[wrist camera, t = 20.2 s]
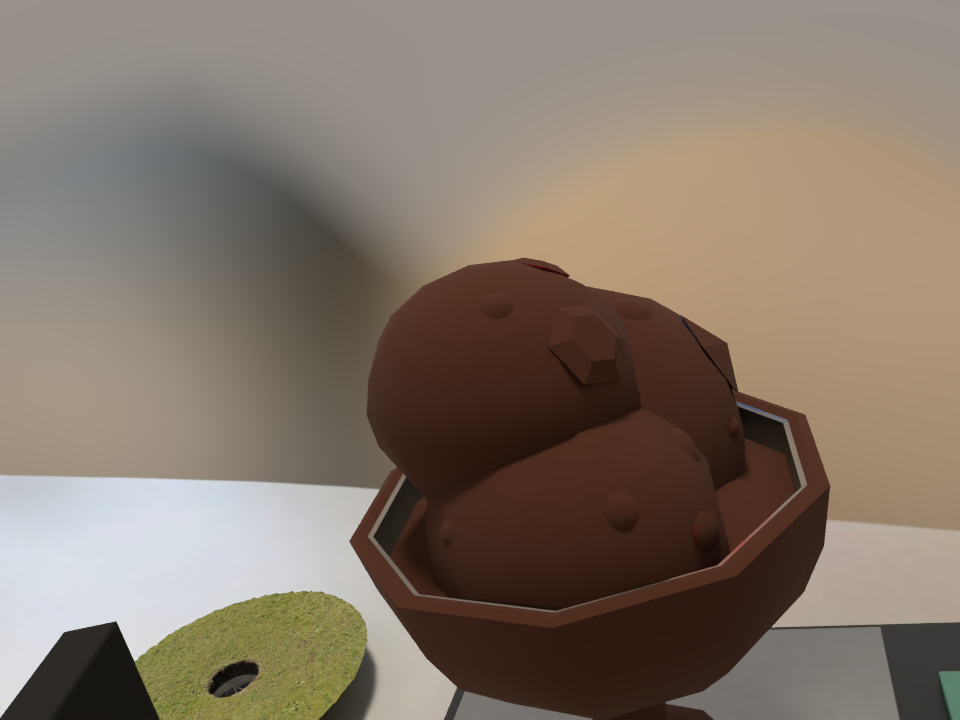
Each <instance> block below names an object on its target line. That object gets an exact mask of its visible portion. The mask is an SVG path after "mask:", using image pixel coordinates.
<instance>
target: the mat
mask: <svg viewBox="0 0 960 720" xmlns="http://www.w3.org/2000/svg"><path fill="white" fill-rule="evenodd" d="M366 633H367V629H366V624H365V622H364V619H362V616H361V615H360V613H359V612H358V611H357V610H355V608H354V607H353V605H351V604H350V603H346V601H343V600H342V599H338V597H336V596H334V595H329V594H325V593H323V592H312V591H310V592H307V591H302V592H296V593H294V592H293V591H292V592H289V593H284V594H278V593H276V594H272V595H265V596H262V597H260V598H253V599H251V600H247V601H244V602H239V603H234V604H232V605H230V606H228V607H225V608H223V609H220V610H215V611H214V612H212V613H210V614H208V615H206V616H205V617H203V618H199V619H197V620H195V621H194V622H192V623H191V624H189V625H186V626H184V627H182V628H180V629H179V630H176V631H175V632H174V633H172V634H169V635H168V636H167V637H166V638H164V639H163V640H162V641H161V642H159V643H158V645H157V646H153V647H152V648H150V649H149V650H148V651H147V652H146V653H145V654H143V655H142V656H140V657H139V658H138V660H137V661H135V665H136V667H137V669H138V671H139V674H140V676H141V678H142V680H143V683H144V685H145V687H146V689H147V692H148V694H149V696H150V698H151V701H152V703H153V705H154V707H155V710H156V712H157V714H158V716H159V719H160V720H319V719H320V718H321V717H322V716H323V714H324V713H325V712H326V711H327V710H328V709H329V708H330V707H331V706H332V704H334V703H336V701H337V700H338V698H339V697H340V695H341V694H342V692H343V691H345V689H346V688H347V686H348V685H349V684H350V683H351V682H352V680H355V675H356V674H357V672H358V669H359V667H360V664H361V662H362V658H363V656H364V653H365V650H366V643H367V639H366V637H367V634H366Z"/></svg>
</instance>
